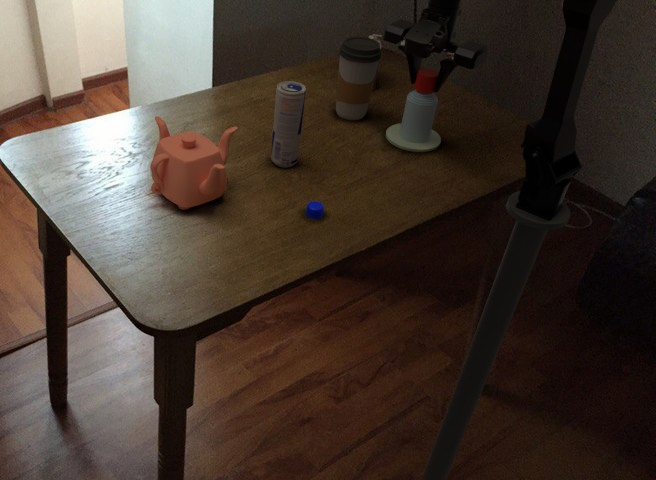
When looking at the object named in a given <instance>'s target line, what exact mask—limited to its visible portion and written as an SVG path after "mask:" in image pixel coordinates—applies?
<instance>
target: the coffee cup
mask: <svg viewBox="0 0 656 480" xmlns="http://www.w3.org/2000/svg"><path fill="white" fill-rule="evenodd" d="M381 58H382V48H381V49H380V44H379V42H377V41H376V40H374V39H371V38H368V36H367V37H366V36H360V35H357V36H356V35H355V36H348V37H346V38H344V39H343V42H342V44H341V45H340V49H339V64H338V70H337V71H338V72H337V83H336V98H335V99H336V102H335V103H336V104H335V111H336V114H337V116H338V117H340V118H341V119H344V120H347V121H359V120H362V119H363V118H364V117H365V116H366V114H367V111H368V107H369V104H370V101H371V97H372V92H373V90H374V89H373V85H374V81H375V77H376V71H377V67H378V68H379V65H378V63H379V64H380V60H381ZM377 72H378V71H377ZM376 78H377V77H376Z"/></svg>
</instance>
